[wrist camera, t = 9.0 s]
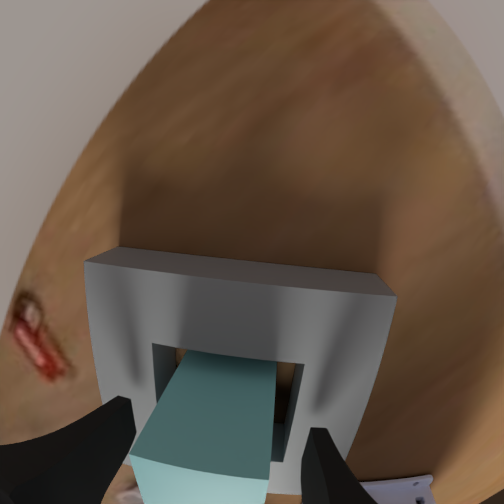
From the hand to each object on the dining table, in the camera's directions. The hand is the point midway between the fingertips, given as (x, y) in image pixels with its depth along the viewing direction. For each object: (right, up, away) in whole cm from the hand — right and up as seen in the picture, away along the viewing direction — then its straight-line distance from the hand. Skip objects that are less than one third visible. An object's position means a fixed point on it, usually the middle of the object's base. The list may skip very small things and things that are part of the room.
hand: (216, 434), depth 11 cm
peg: (0, +1, +4) cm, 4 cm away
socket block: (0, +1, +4) cm, 4 cm away
